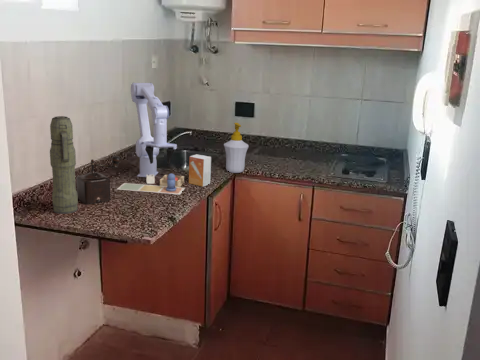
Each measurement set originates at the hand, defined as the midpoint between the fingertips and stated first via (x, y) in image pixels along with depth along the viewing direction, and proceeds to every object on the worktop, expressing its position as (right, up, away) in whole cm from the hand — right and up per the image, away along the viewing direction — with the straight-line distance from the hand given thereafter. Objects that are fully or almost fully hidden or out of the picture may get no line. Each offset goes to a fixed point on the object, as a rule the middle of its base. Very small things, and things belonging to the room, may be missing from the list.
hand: (160, 163), depth 218 cm
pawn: (+6, -12, -5) cm, 14 cm away
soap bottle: (+33, -3, +32) cm, 46 cm away
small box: (+17, -9, +7) cm, 21 cm away
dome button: (+5, -9, +4) cm, 11 cm away
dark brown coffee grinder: (-21, -15, -19) cm, 32 cm away
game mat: (-3, -11, -4) cm, 12 cm away
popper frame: (+5, -9, +5) cm, 11 cm away
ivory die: (-5, -9, +5) cm, 11 cm away
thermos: (-30, -19, -34) cm, 49 cm away
